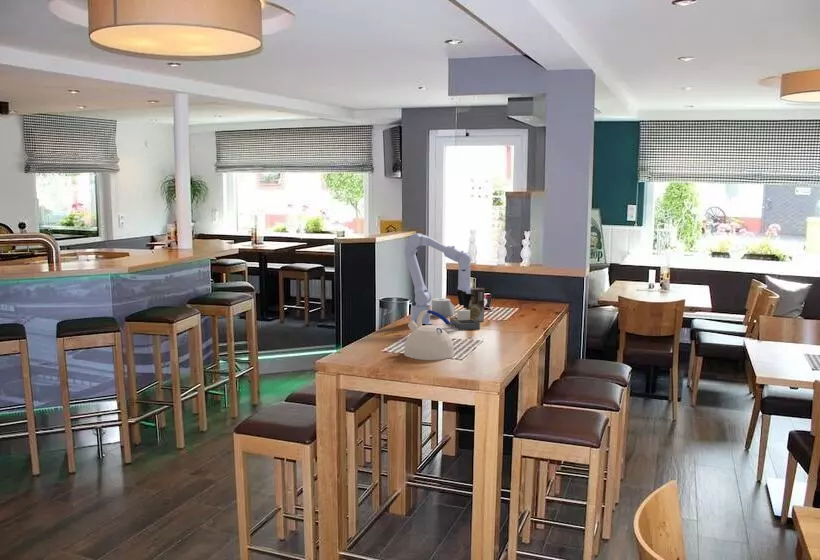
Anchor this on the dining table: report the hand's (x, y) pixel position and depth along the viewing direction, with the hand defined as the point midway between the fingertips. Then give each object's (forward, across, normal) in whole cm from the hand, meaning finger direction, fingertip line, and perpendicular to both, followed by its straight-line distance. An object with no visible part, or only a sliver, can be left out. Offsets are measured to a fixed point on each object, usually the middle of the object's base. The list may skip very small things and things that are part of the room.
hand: (463, 306), depth 344 cm
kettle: (+10, -55, +31) cm, 64 cm away
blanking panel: (+9, 0, 0) cm, 9 cm away
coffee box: (+10, +13, -10) cm, 19 cm away
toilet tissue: (+10, +28, +2) cm, 30 cm away
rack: (+9, -2, 0) cm, 10 cm away
